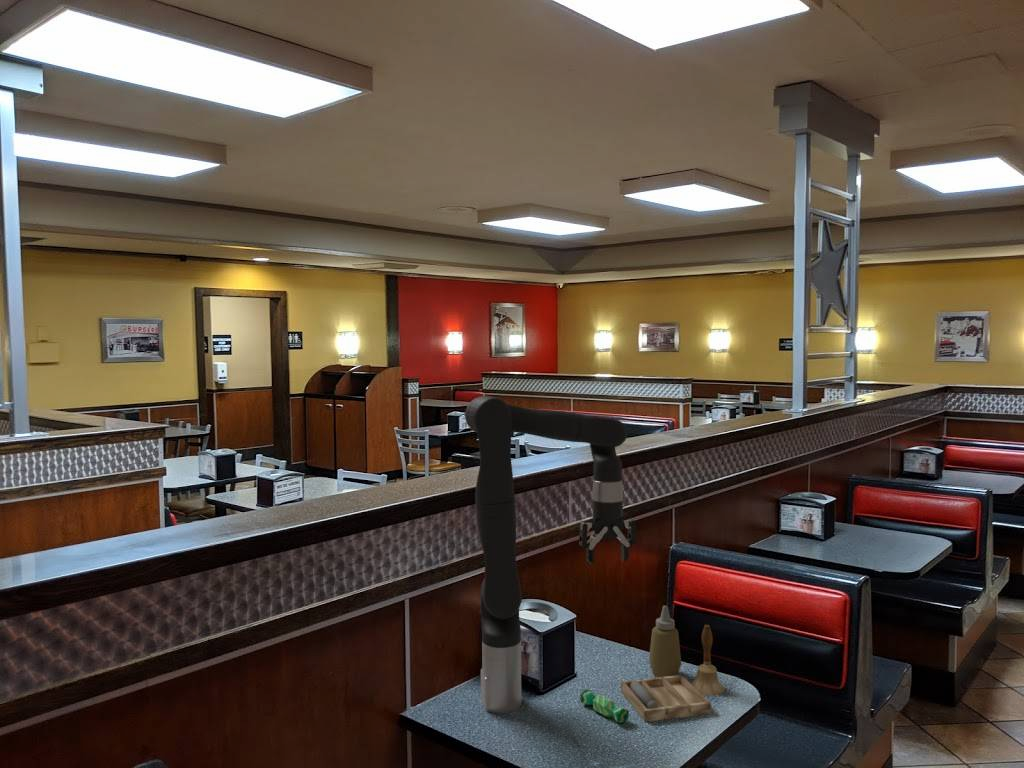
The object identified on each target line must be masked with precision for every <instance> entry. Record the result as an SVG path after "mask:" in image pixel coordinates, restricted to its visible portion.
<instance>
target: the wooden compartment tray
mask: <svg viewBox="0 0 1024 768" xmlns="http://www.w3.org/2000/svg"><path fill="white" fill-rule="evenodd" d="M633 681H638V682H639V683H640V684H641V685H642V686H643V688H644V689H645V690H646V691H647V692H648V693H649V695H650V696H651V697H652V698H653V699H654V700H655V701H656V703H657V705H658V707H657V708H651V709H648V708H647V707H646V706H645V705H644V704H643V702H642V701H641V700H640V699H639V698H638V696H637V695H636V694H635V693H634V692H633V690H632V689H631V683H632V682H633ZM620 693H621V694H622V695H623V697H624V698H625V699H626V700H627V701H628V702H629V704H630V705H631V706H632V708H633V709H634V710H635V711H636V713H637V714H638V715H639V717H641V719H642V720H643V722H644V723H648V722H647V721H649V722H655V721H656V722H657V721H664V719H665V720H671V719H672V718H673V719H679V718H678V717H680V718H685V717H687V718H688V717H692V716H693V717H694V716H700V715H706V714H711V712H712V711H711V710H712V709H711V706H712V704H711V702H710V701H709V700H708V699H707V697H705V695H702V694H701V693H700V692H699V691H698V690H697V689H696V688H695V687H694V686H693V685H692V684H691V682H690V681H689V680H688V679H687V678H686V677H685V676H684V675H682V674H677V675H676V676H666V677H657V678H656V677H651V678H650V677H649V678H641V679H632V680H624V681H623V680H622V681H620Z"/></svg>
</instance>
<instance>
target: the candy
mask: <svg viewBox="0 0 1024 768" xmlns="http://www.w3.org/2000/svg"><path fill="white" fill-rule="evenodd" d="M580 703H582V704H584V705H589V706H591V705H592V709H593V710H594V711H595V712H598V713H599V714H601V715H603V716H604V717H607V718H611V717H613V719H614V720H615V721H616V722H617V723H618V724H621V725H622V724H623V725H624V724H625V723H626V721H627V720H628V719H629V716H630V715H629V709H627V708H624V707H616V703H615V702H614V701H612V700H610V699H608V698H606V697H605V696H603V695H600V694H597V695H595V694H594V692H593V691H592V690H591V689H588V688H585V689H584V690H583V691H582V693H580Z"/></svg>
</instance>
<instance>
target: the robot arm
mask: <svg viewBox="0 0 1024 768" xmlns="http://www.w3.org/2000/svg"><path fill="white" fill-rule="evenodd" d="M464 417H465V422H466V425H468V427H469V428H470V429H471V431H473V432H475V433H476V434H477V440H478V447H479V456H480V459H479V470H478V473H477V474H478V475H477V479H476V483H475V484H476V485H475V494H474V495H475V514H476V522H477V528H478V536H479V539H480V544H481V548H482V553H483V558H484V559H483V560H484V578H483V581H482V583H481V585H480V586H481V587H480V625H481V647H482V648H481V649H482V650H481V652H482V653H481V654H482V655H481V656H482V657H481V660H482V664H481V667H482V668H480V701H481V704H482V706H483V709H484V712H486V713H487V712H488V713H489V712H493V713H498V714H501V713H509V712H513V711H515V710H517V709H519V708H520V707H521V705H522V701H523V700H522V629H521V622H520V621H521V620H520V607H521V604H522V601H523V593H522V592H523V591H522V589H521V583H520V577H519V571H518V564H517V555H516V554H517V553H516V552H517V550H516V548H517V511H516V510H517V509H516V497H515V495H516V494H515V487H514V474H513V473H514V472H513V466H512V450H511V449H512V433H519V434H526V435H531V436H536V437H541V438H545V439H551V440H555V441H562V442H568V443H569V442H572V443H584V444H589V447H590V452H591V456H592V461H593V483H592V493H591V497H592V519H591V522H585V521H580V522H579V533H578V534H579V538H578V544H579V546H581V547H582V548H585V549H586V558H585V559H586V561H587V562H588V564H590V565H594V564H595V549H594V548H595V547H596V545H597V544H598V543H599V542H600V541H601V540H608V539H611V540H615V539H616V538H617V539H618V540H619V542H620V543H621V545H620V560H621V562H622V563H627V562H628V561H627V560H629V557H630V551H629V550H630V546H632V545H636V544H637V530H636V529H637V528H636V521H635V520H634V519H631V518H628V519H625V520H624V488H623V464H622V460H621V458H620V457H619V456H618V455H617V451H616V448H617V447H620V446H622V445H623V444H624V443H625V441H626V440H627V437H628V430H627V427H626V425H625V424H624V423H623V422H622V421H621V420H619V419H616V418H611V417H606V416H599V417H596V416H588V415H584V414H581V413H576V412H571V411H562V410H553V409H551V410H550V409H539V408H531V407H530V408H529V407H524V406H523V407H522V406H517V405H512V404H509V403H507V402H506V401H504V400H503V399H501V398H499V397H495V396H491V395H482V396H479V397H476V398H474V399H472V400H471V401H470V402H469V403H468V405H467V406H466V408H465V412H464ZM624 527H625V528H626V529H627V537H628V538H626V537H625V535H624V534H623V532H622V530H623V529H624ZM590 529H592V530H593V532H592V533H591V535H590V536H589V537H590V538H589V539H588V532H589V531H590Z"/></svg>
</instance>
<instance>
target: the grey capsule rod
mask: <svg viewBox="0 0 1024 768" xmlns="http://www.w3.org/2000/svg"><path fill="white" fill-rule="evenodd" d="M631 689H632V690H633V692H634V693H635V694H636V695H637V696H638V698H639V699H640V700H641V701H642V702H643V704H644V705H645V706H646V707H647V708H648V709H651V708H657V707H658V705H657V703H656V701H655V700H654V699H653V698H652V697H651V696H650V695H649V693H648V692H647V691H646V690H645V689H644V688H643V686H642V685H641V684H640V683H639V682H638V681H633V682H632V683H631Z"/></svg>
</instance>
